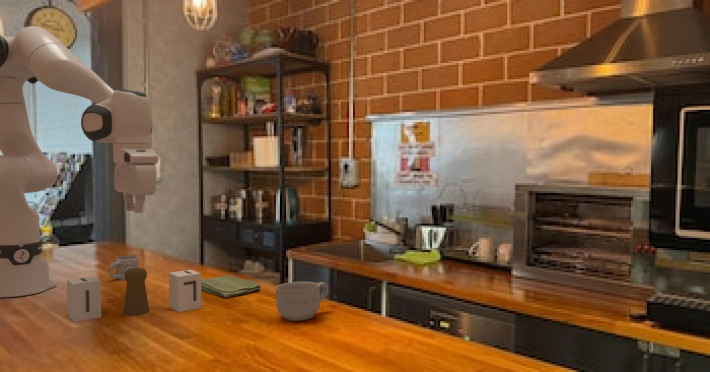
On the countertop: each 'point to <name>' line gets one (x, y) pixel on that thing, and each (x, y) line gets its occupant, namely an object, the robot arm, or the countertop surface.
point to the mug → (123, 266)
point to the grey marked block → (84, 298)
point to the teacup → (299, 299)
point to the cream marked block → (185, 290)
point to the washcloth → (228, 286)
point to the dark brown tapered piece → (136, 292)
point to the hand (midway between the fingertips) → (134, 211)
